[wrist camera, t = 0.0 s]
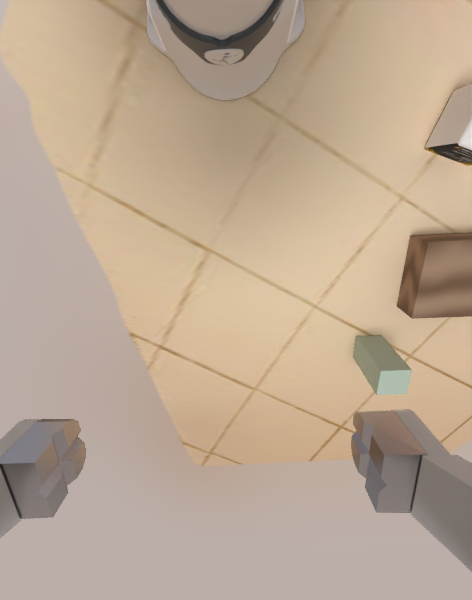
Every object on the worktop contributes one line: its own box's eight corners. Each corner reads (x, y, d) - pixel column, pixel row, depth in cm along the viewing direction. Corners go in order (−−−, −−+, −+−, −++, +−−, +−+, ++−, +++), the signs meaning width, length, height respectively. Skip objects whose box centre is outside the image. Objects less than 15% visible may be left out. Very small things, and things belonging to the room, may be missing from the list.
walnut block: (409, 235, 45) (428, 242, 40) (488, 231, 44) (516, 238, 40) (395, 305, 50) (411, 318, 45) (467, 302, 49) (490, 315, 45)
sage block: (355, 336, 52) (380, 370, 43) (381, 335, 52) (411, 369, 42) (353, 357, 53) (376, 394, 44) (377, 356, 53) (406, 394, 44)
